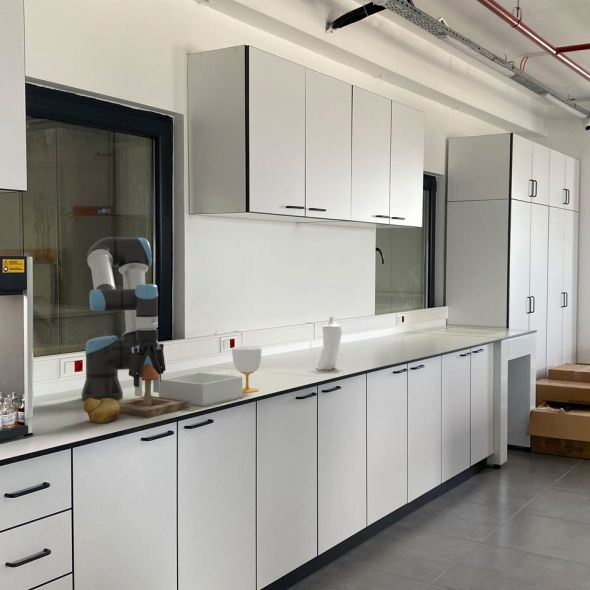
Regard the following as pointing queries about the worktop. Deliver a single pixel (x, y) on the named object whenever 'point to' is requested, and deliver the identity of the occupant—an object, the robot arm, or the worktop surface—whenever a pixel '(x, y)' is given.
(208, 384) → the bin
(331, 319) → the spray can
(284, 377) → the worktop surface
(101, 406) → the bread roll
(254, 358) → the cup
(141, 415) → the board
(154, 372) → the mushroom
